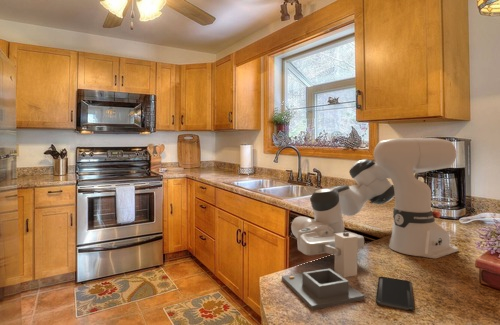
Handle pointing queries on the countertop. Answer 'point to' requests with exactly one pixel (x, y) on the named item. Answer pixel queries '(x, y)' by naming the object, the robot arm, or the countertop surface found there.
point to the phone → (395, 294)
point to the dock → (322, 288)
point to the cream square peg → (346, 254)
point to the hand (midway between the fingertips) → (347, 251)
